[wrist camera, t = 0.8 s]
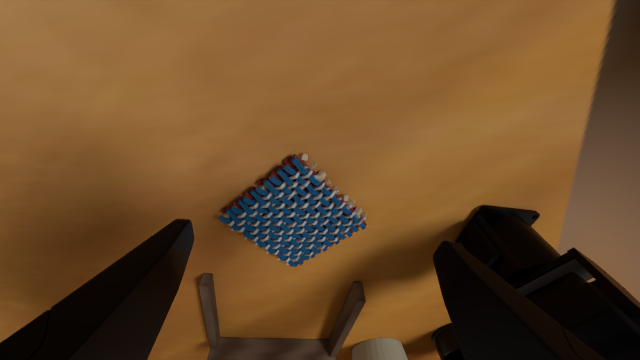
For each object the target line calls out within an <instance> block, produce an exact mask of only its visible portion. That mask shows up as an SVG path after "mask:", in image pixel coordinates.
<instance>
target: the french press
mask: <svg viewBox="0 0 640 360" xmlns="http://www.w3.org/2000/svg"><path fill="white" fill-rule="evenodd" d="M432 341H433V343H434V344H435V346H436V348H437V351H438V353H439V356H440V358H441V360H465V358H464V356H463V353H462V350H461V347H460V345H459V342H458V339H457V336H456V333H455V331H454V328H453V325H452V323H451V324H448V325H445V326H443V327H441V328H439V329H438V330H437V331H435V332H434V333H433V335H432Z"/></svg>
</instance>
